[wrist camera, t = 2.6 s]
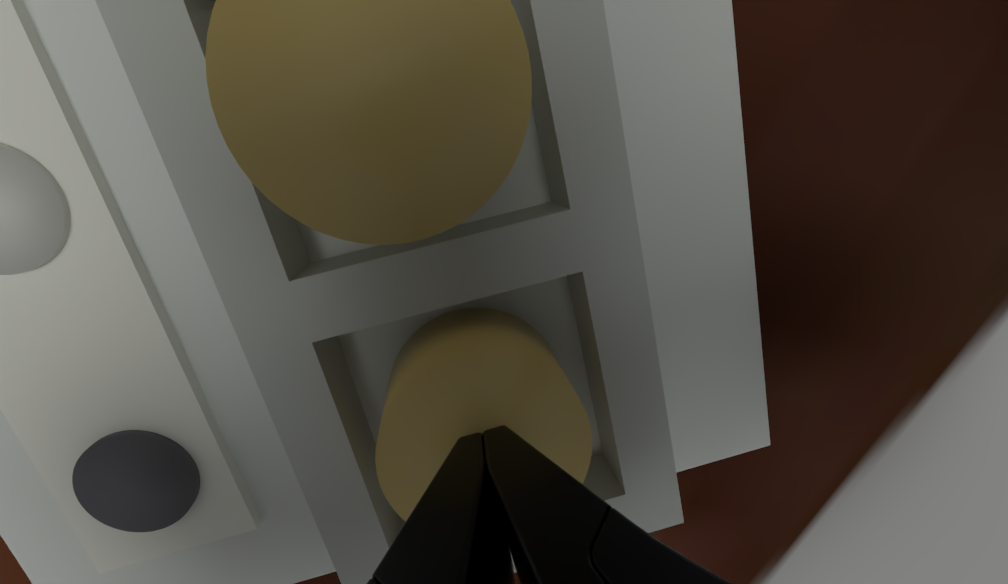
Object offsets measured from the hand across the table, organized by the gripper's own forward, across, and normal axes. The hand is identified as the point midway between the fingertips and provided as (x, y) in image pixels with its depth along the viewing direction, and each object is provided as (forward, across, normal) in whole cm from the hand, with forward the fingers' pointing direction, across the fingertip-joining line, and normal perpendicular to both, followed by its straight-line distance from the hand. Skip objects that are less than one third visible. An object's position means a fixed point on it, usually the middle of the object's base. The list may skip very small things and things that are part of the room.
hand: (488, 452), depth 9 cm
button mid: (+2, 0, -6) cm, 6 cm away
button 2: (+3, 0, 0) cm, 3 cm away
